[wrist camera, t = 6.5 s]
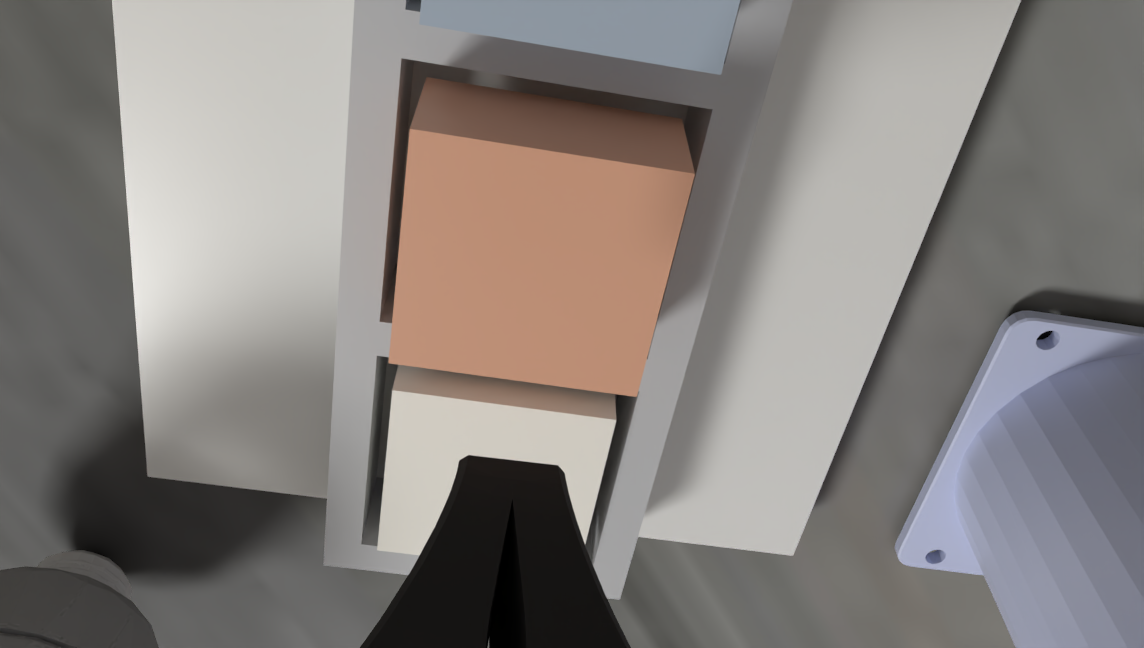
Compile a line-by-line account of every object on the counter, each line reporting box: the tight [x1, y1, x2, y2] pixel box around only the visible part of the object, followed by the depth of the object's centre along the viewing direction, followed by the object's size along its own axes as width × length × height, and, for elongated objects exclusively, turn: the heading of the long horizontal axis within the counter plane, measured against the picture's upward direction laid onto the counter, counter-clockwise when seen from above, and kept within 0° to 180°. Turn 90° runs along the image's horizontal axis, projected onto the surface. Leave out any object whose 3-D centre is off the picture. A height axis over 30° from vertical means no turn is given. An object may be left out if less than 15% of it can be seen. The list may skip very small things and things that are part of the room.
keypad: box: [112, 0, 1021, 600], centre depth 18 cm, size 16×25×3 cm, turn 170°
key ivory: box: [377, 365, 616, 555], centre depth 22 cm, size 4×4×2 cm
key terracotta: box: [388, 77, 695, 397], centre depth 18 cm, size 4×4×2 cm
